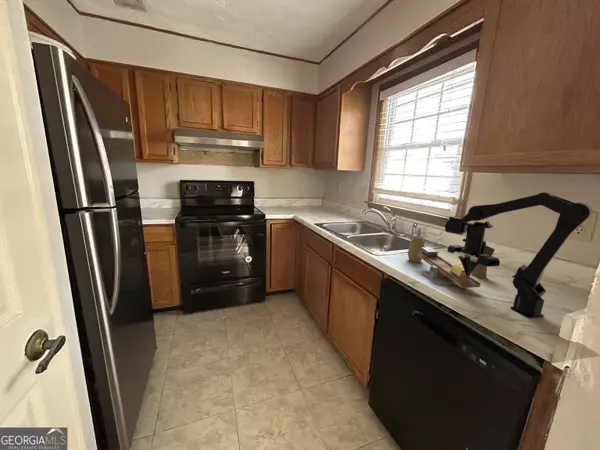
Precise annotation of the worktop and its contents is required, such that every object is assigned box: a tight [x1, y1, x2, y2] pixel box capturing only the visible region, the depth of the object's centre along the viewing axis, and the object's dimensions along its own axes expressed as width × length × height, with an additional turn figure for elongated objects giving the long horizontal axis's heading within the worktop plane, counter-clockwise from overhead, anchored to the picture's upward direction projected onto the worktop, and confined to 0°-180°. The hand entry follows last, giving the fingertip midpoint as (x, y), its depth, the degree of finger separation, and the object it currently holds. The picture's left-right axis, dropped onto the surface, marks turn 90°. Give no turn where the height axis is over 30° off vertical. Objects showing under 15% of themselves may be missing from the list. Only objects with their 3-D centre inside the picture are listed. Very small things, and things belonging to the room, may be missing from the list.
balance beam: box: [417, 252, 482, 289], centre depth 112 cm, size 28×9×2 cm, turn 12°
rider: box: [450, 263, 471, 279], centre depth 105 cm, size 5×5×4 cm
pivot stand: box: [420, 265, 458, 286], centre depth 113 cm, size 12×15×6 cm
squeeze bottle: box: [407, 227, 425, 263], centre depth 134 cm, size 8×8×18 cm
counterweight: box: [421, 246, 439, 258], centre depth 122 cm, size 5×5×3 cm
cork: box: [470, 254, 489, 280], centre depth 117 cm, size 6×6×11 cm
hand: (467, 275), depth 101 cm, fingers closed
